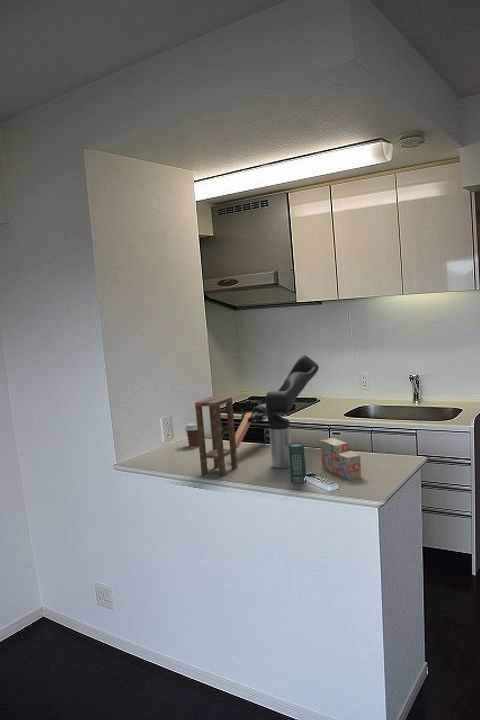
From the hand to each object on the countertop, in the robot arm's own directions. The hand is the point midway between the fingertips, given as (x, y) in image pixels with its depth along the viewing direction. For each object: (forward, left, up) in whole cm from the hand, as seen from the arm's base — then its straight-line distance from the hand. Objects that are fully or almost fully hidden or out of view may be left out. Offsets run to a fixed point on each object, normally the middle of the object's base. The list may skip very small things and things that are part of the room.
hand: (245, 420), depth 272 cm
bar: (0, +3, -5) cm, 6 cm away
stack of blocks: (-52, +17, -17) cm, 57 cm away
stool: (0, +28, -16) cm, 32 cm away
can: (-39, +32, -17) cm, 53 cm away
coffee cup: (+35, -7, -17) cm, 39 cm away
